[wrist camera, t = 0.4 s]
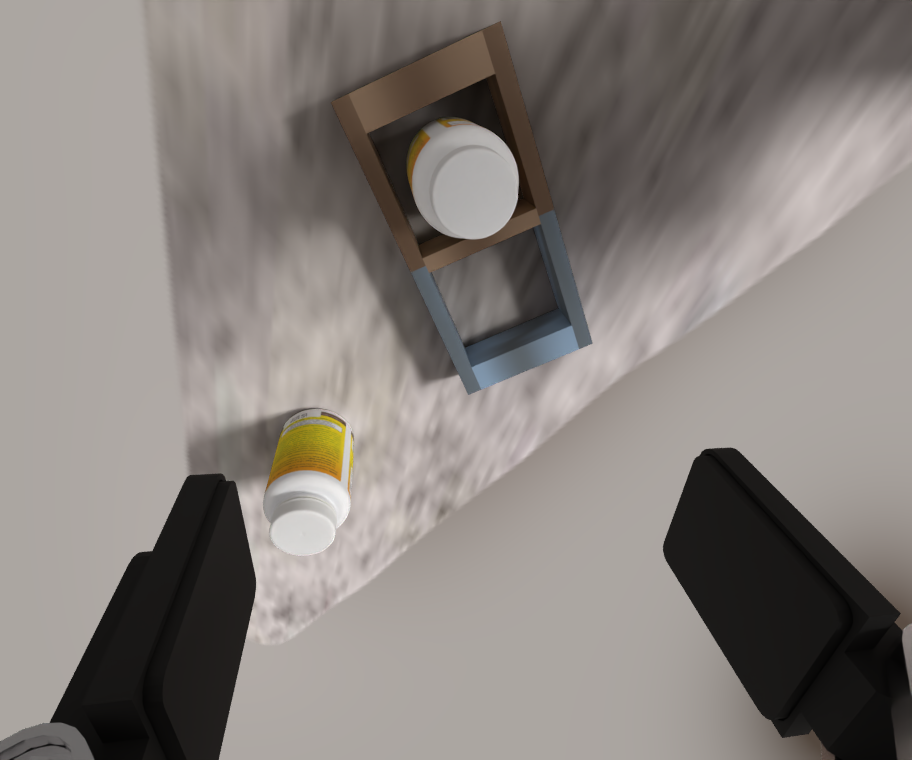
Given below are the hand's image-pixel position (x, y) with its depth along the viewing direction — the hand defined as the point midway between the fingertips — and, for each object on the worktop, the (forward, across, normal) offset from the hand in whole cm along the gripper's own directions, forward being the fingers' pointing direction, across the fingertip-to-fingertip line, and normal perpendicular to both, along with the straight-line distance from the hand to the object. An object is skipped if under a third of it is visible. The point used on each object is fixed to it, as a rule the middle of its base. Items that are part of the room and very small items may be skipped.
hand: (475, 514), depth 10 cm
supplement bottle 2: (+26, -3, -3) cm, 26 cm away
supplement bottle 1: (+26, +7, +17) cm, 32 cm away
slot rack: (+26, -5, 0) cm, 26 cm away
